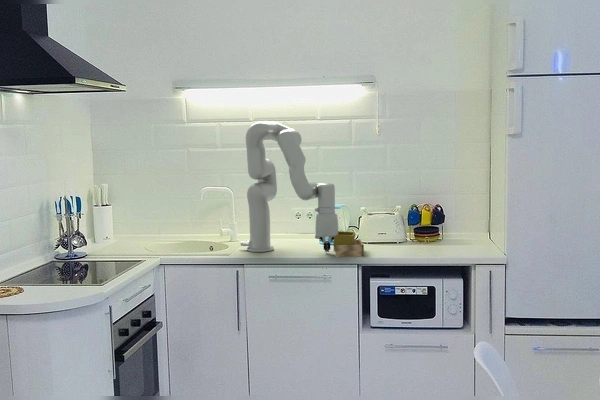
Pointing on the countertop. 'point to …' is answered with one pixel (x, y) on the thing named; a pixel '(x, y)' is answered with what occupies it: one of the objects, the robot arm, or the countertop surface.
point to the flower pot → (344, 238)
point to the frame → (350, 249)
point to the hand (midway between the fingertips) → (327, 251)
